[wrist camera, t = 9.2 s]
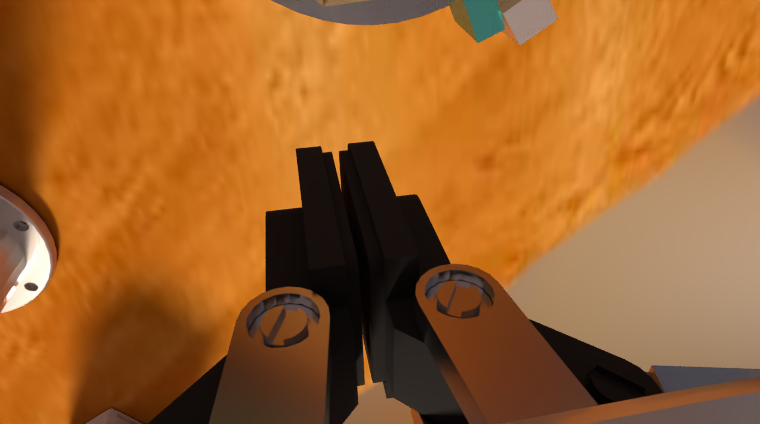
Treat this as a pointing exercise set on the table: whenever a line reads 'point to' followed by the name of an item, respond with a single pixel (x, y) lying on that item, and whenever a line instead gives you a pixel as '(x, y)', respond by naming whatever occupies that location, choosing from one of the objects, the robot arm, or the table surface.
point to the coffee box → (113, 418)
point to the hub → (399, 3)
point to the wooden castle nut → (463, 16)
